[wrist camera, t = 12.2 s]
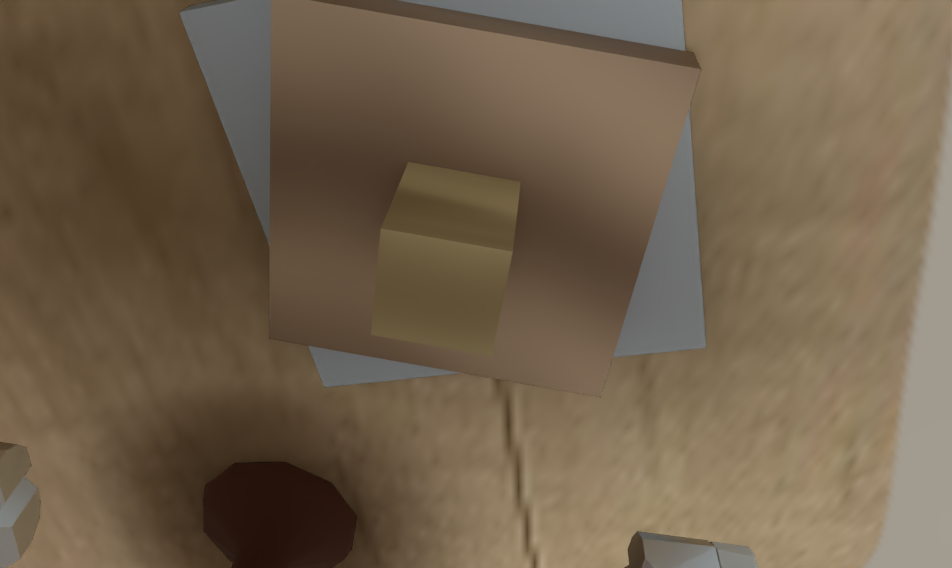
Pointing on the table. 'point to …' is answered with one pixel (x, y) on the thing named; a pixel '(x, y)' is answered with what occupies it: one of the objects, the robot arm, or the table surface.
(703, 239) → the table surface
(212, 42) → the felt pad
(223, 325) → the table surface
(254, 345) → the table surface
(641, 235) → the lid
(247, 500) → the ice cream bowl
